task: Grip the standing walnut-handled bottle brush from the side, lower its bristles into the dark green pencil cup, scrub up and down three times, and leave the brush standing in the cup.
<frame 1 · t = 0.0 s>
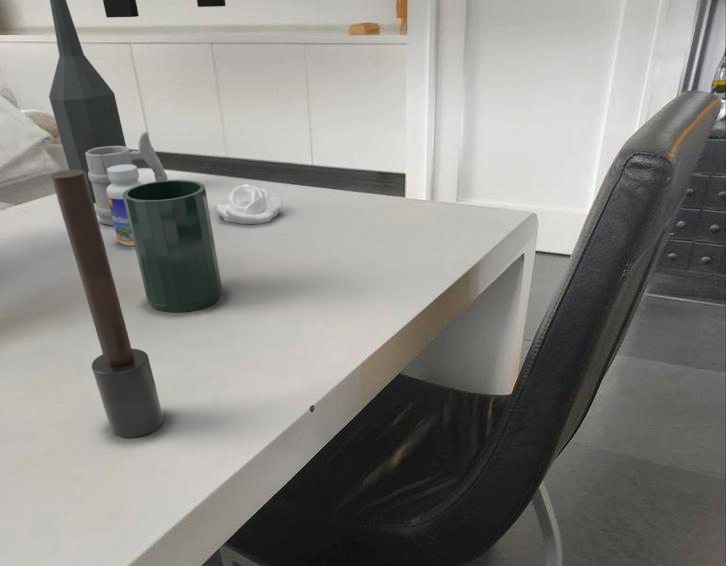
hand: (170, 11, 61), 28 cm above the table, tool pointing down, fingers open, 13 cm apart
pill bottle: (138, 241, 98), on the table
brush: (137, 423, 58), on the table
dark green pencil cup: (185, 297, 80), on the table
mug: (137, 219, 107), on the table
bottle: (107, 196, 119), on the table
rose: (250, 217, 106), on the table
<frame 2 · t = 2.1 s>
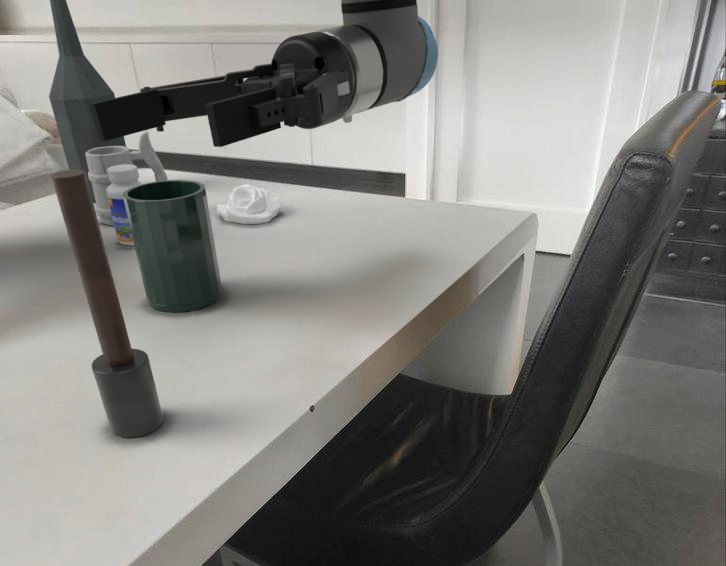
hand: (150, 124, 52), 21 cm above the table, tool horizontal, fingers open, 13 cm apart
nothing on the table moved.
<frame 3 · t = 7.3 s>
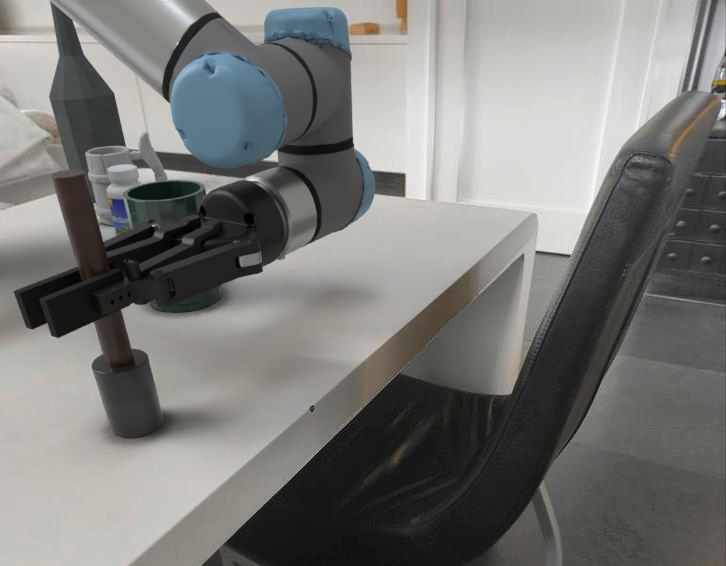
hand: (36, 314, 47), 12 cm above the table, tool horizontal, fingers closed on brush, 2 cm apart
brush: (137, 423, 58), on the table, touching gripper
everything else where it was.
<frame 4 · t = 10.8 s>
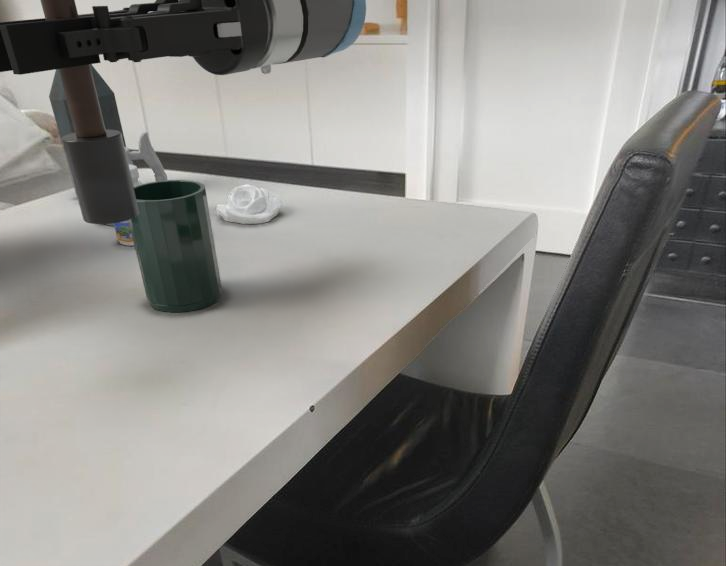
brush: (111, 216, 55), point 15 cm above the table, touching gripper
everything else where it was.
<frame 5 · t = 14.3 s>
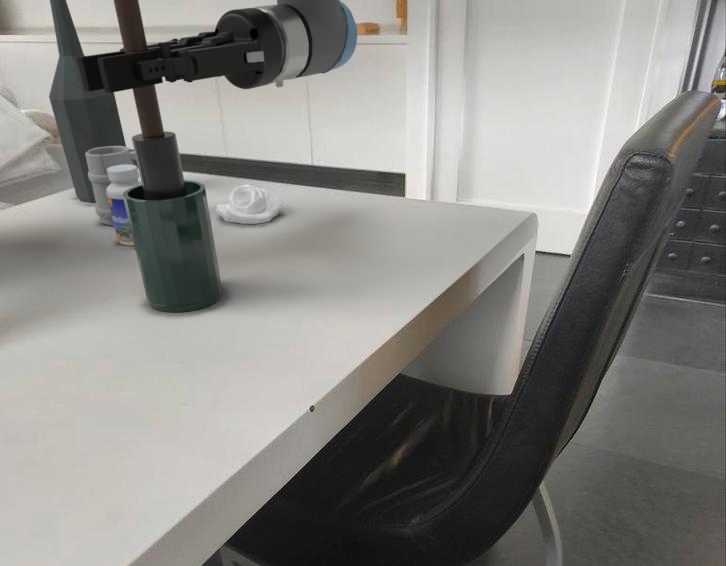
hand: (93, 75, 63), 23 cm above the table, tool horizontal, fingers closed on brush, 2 cm apart
brush: (166, 197, 73), point 11 cm above the table, touching gripper
everything else where it was.
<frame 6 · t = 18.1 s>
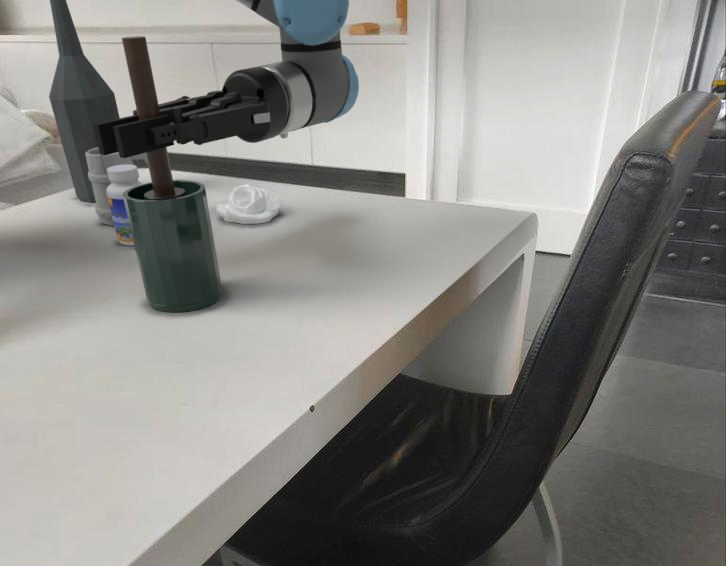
hand: (109, 141, 66), 18 cm above the table, tool horizontal, fingers closed on brush, 2 cm apart
brush: (175, 248, 77), point 6 cm above the table, touching gripper
everything else where it was.
when the fingers open (14 cm above the table, at t = 21.6 s): brush stays where it is, resting on dark green pencil cup.
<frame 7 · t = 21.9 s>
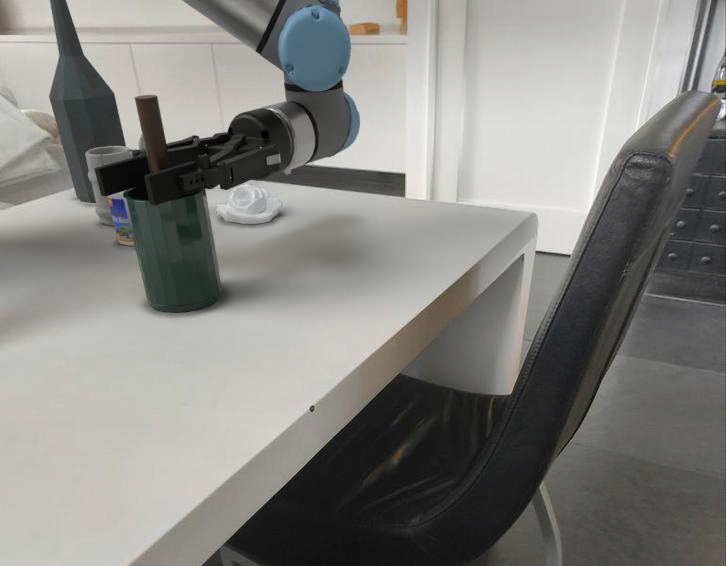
hand: (124, 186, 69), 14 cm above the table, tool horizontal, fingers open, 7 cm apart
brush: (184, 291, 80), point 1 cm above the table, touching dark green pencil cup
everything else where it was.
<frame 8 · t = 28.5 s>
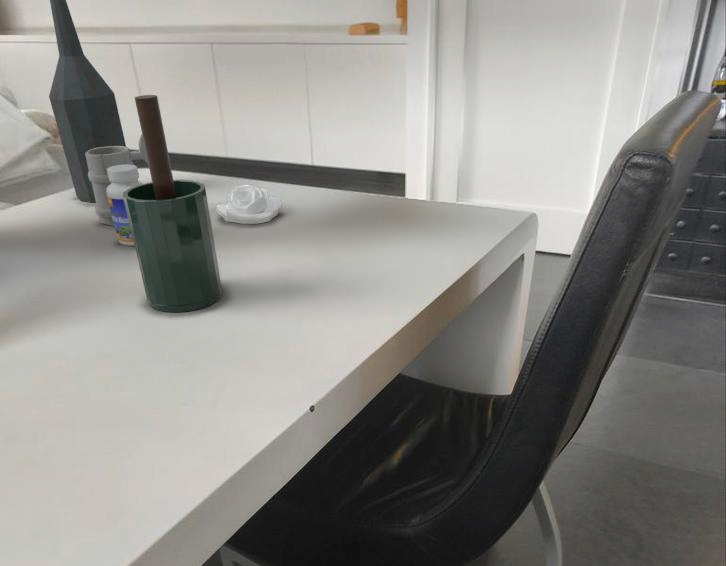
nothing on the table moved.
at the end: brush 0.0 cm off-centre in the dark green pencil cup, point 0.8 cm above the dark green pencil cup's base; the gripper is holding nothing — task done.
